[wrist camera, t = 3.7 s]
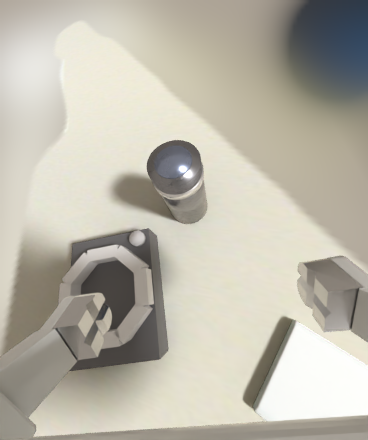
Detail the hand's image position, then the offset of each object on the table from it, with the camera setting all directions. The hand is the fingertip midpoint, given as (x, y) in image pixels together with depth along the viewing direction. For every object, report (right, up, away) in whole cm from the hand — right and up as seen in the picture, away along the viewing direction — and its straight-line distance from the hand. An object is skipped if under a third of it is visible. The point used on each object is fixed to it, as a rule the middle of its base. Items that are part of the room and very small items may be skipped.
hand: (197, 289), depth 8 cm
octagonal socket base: (-7, -5, +14) cm, 17 cm away
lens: (0, +5, +16) cm, 17 cm away
